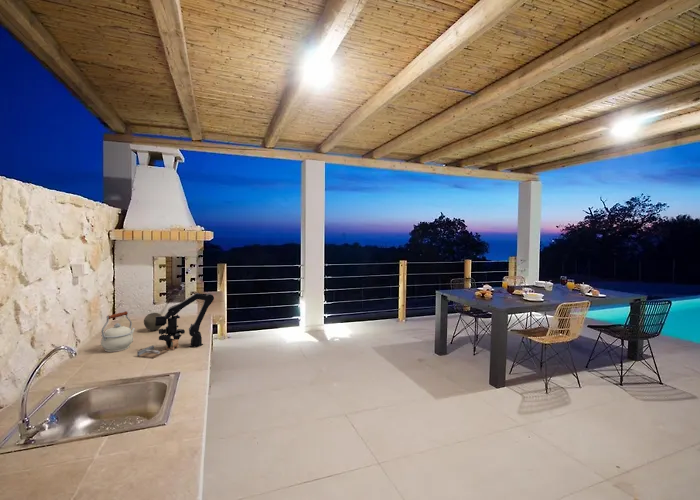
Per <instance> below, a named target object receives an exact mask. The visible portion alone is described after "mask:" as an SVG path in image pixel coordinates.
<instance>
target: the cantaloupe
mask: <svg viewBox="0 0 700 500" xmlns="http://www.w3.org/2000/svg"><path fill="white" fill-rule="evenodd" d="M156 316H162V314H160V313H158V312H151V313H148V314H146V316H145V317H144V319H143V325H144V327H145V328H146V329H147V330H148V331H153V332H155V331H157V330H158V331H159V329H162V326H155V322H156Z"/></svg>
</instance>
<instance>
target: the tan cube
mask: <svg viewBox="0 0 700 500" xmlns="http://www.w3.org/2000/svg"><path fill="white" fill-rule="evenodd" d="M171 339H172V342H171V346H170V348H168V346H167V343H166V342H165V350H167V351H174V350H175V349H179V340H178V339H174V338H171Z"/></svg>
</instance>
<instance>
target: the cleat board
mask: <svg viewBox="0 0 700 500" xmlns="http://www.w3.org/2000/svg"><path fill="white" fill-rule="evenodd" d="M168 351H169V350H166V349H165V350H164V349H156V348H155V345H151V346H148V347H145V348H143V349H141V350H137V351H136V354H137V356H136V357H138V358H144V359H145V358H146V359H154V358H157V357H159V356H162V355H165V354H166V353H168Z"/></svg>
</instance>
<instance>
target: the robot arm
mask: <svg viewBox="0 0 700 500" xmlns="http://www.w3.org/2000/svg"><path fill="white" fill-rule="evenodd" d="M197 300H201V301H203V304H202V306H201V309H200V310H199V313H198V314H197V317H196V319H195V321H194V323H190V327H189V328H188V333H189V336H190V337H191V339H190V345H189V347H193V348H198V347H199V348H200V347H201V346H203V345H204V344H203V343H202V342H203V337H202V333H201V331H200V327H201V324H202V321H203V319H204V317H205V314H206V312H207V310H208V309H209V306H211V304H212V303H213V302H214V300H215V298H214V295H213V294H212V293H211V292H210V293H199V292H195V293H194V294H192V295H191V296H190V297H188V298H186V299H184V300H182V301H181V302H180V303H177V304H174V305H172V306H170V307H169V308H168V310H167V312H166V313H165V314H164V315H161V316H156V322H155V326H161V327H163V326H165V325H167V326H165V328H159V329H158V334H159V336H158V341H163V342H164V341H165V344H166V343H167V346H168V348H170V346H171V342H172V339H178V341H179V339H180V338H181V336H182V335H185V333H186V331H185V329H184V328H183V329H182V328H179V325H178V319H181V317H180V315H178V313H179V312H180V311H181V310H183V309H184V308H186V307H187V306H189V305H190V304H192V303H193V302H195V301H197ZM172 337H173V338H172Z"/></svg>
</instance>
